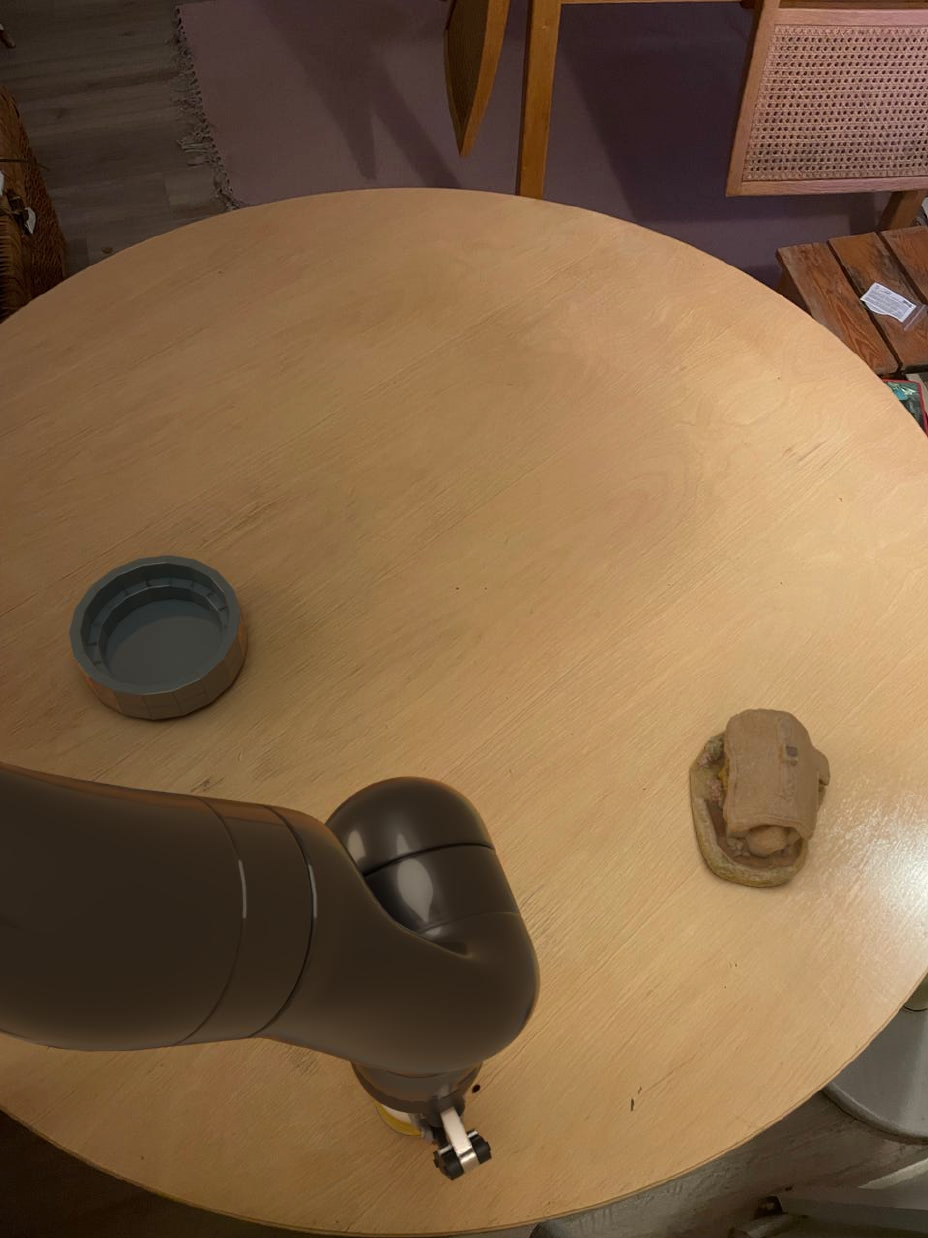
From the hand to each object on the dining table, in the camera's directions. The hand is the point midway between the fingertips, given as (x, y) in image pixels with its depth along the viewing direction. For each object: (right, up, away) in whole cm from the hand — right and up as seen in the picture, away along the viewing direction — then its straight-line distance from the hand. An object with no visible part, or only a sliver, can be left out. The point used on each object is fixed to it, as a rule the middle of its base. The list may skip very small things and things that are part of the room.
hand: (415, 1080), depth 67 cm
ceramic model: (+27, +14, +18) cm, 36 cm away
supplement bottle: (0, -3, +5) cm, 6 cm away
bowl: (-23, +27, +24) cm, 43 cm away
